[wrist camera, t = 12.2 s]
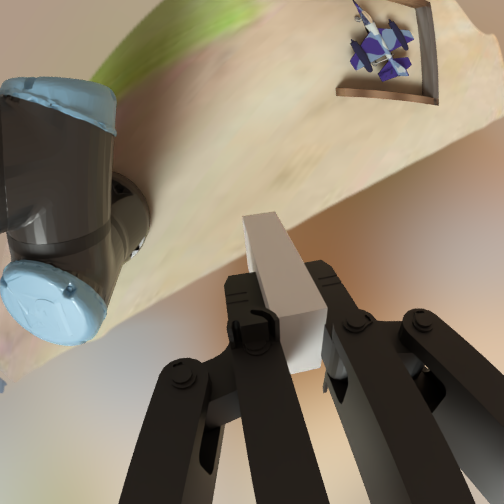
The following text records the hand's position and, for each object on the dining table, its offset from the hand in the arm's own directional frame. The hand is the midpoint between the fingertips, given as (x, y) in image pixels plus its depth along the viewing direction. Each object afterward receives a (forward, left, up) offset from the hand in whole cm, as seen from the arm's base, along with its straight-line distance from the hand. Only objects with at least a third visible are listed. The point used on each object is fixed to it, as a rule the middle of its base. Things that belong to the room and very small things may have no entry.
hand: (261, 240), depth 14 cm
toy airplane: (+24, +16, -30) cm, 41 cm away
